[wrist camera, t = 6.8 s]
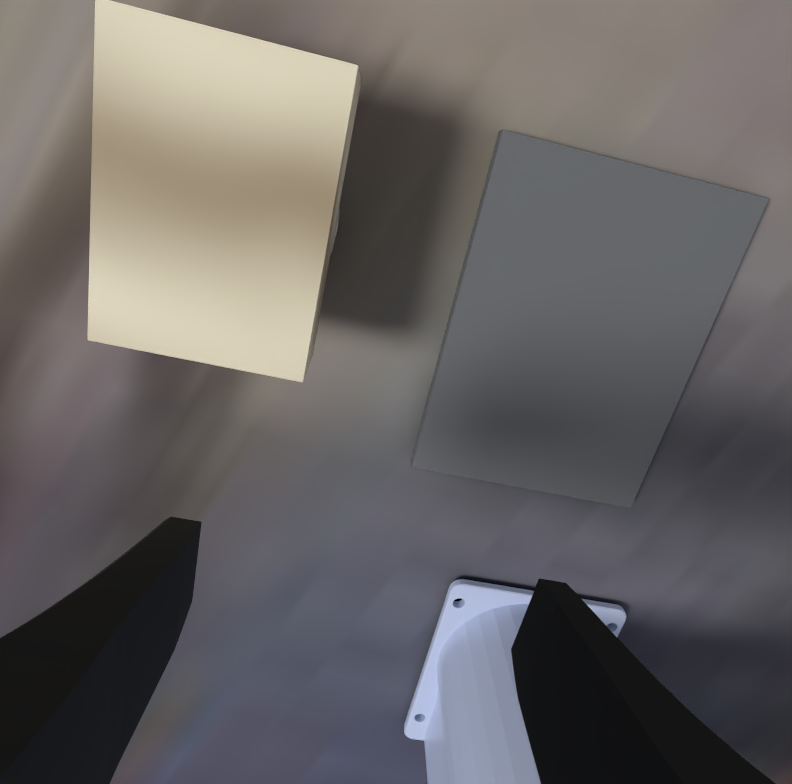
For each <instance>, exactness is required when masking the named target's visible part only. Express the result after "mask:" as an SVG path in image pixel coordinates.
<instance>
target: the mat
mask: <svg viewBox="0 0 792 784" xmlns="http://www.w3.org/2000/svg"><path fill="white" fill-rule="evenodd" d="M768 200H769V199H768V198H764V197H761V196H757V195H753V194H749V193H745V192H741V191H737V190H734V189H730V188H726V187H722V186H718V185H714V184H710V183H707V182H703V181H699V180H695V179H691V178H687V177H683V176H680V175H676V174H672V173H668V172H664V171H660V170H656V169H653V168H649V167H645V166H641V165H637V164H633V163H629V162H626V161H622V160H618V159H614V158H610V157H606V156H602V155H599V154H595V153H591V152H587V151H583V150H579V149H575V148H572V147H568V146H564V145H560V144H556V143H552V142H548V141H545V140H541V139H537V138H533V137H529V136H525V135H521V134H518V133H514V132H510V131H506V130H501V131H499V133H498V137H497V141H496V145H495V148H494V152H493V156H492V160H491V163H490V167H489V171H488V174H487V178H486V182H485V186H484V189H483V193H482V197H481V201H480V204H479V208H478V212H477V215H476V219H475V223H474V227H473V230H472V234H471V238H470V242H469V245H468V249H467V253H466V257H465V260H464V264H463V268H462V271H461V275H460V279H459V283H458V286H457V290H456V294H455V298H454V301H453V305H452V309H451V312H450V316H449V320H448V324H447V327H446V331H445V335H444V339H443V342H442V346H441V350H440V353H439V357H438V361H437V365H436V368H435V372H434V376H433V380H432V383H431V387H430V391H429V395H428V398H427V402H426V406H425V409H424V413H423V417H422V421H421V424H420V428H419V432H418V436H417V439H416V443H415V447H414V450H413V454H412V458H411V465H412V468H416V469H421V470H426V471H432V472H437V473H443V474H448V475H453V476H459V477H464V478H469V479H475V480H480V481H486V482H491V483H496V484H502V485H507V486H512V487H518V488H523V489H529V490H534V491H539V492H545V493H550V494H555V495H561V496H566V497H572V498H577V499H582V500H588V501H593V502H598V503H604V504H609V505H615V506H620V507H625V508H631V506H632V504H633V502H634V500H635V497H636V495H637V493H638V491H639V488H640V486H641V484H642V482H643V480H644V477H645V475H646V473H647V471H648V468H649V466H650V464H651V462H652V459H653V457H654V455H655V453H656V450H657V448H658V446H659V444H660V441H661V439H662V437H663V435H664V433H665V430H666V428H667V426H668V424H669V421H670V419H671V417H672V415H673V412H674V410H675V408H676V406H677V403H678V401H679V399H680V397H681V394H682V392H683V390H684V388H685V386H686V383H687V381H688V379H689V377H690V374H691V372H692V370H693V368H694V365H695V363H696V361H697V359H698V356H699V354H700V352H701V350H702V347H703V345H704V343H705V341H706V339H707V336H708V334H709V332H710V330H711V327H712V325H713V323H714V321H715V318H716V316H717V314H718V312H719V309H720V307H721V305H722V303H723V300H724V298H725V296H726V294H727V292H728V289H729V287H730V285H731V283H732V280H733V278H734V276H735V274H736V271H737V269H738V267H739V265H740V262H741V260H742V258H743V256H744V253H745V251H746V249H747V247H748V245H749V242H750V240H751V238H752V236H753V233H754V231H755V229H756V227H757V224H758V222H759V220H760V218H761V215H762V213H763V211H764V209H765V206H766V204H767V202H768Z"/></svg>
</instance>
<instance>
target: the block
mask: <svg viewBox="0 0 792 784" xmlns="http://www.w3.org/2000/svg"><path fill="white" fill-rule="evenodd" d="M360 86H361V77H360V72H359V67H358V65H355V64H351V63H347V62H344V61H340V60H336V59H332V58H328V57H324V56H321V55H317V54H313V53H309V52H305V51H301V50H298V49H294V48H290V47H286V46H282V45H278V44H275V43H271V42H267V41H263V40H259V39H255V38H252V37H248V36H244V35H240V34H236V33H232V32H229V31H225V30H221V29H217V28H213V27H209V26H206V25H202V24H198V23H194V22H190V21H186V20H183V19H179V18H175V17H171V16H167V15H163V14H160V13H156V12H152V11H148V10H144V9H140V8H137V7H133V6H129V5H125V4H121V3H118V2H114V1H110V0H95V39H94V83H93V126H92V170H91V213H90V257H89V300H88V340H90V341H95V342H100V343H105V344H110V345H115V346H120V347H125V348H130V349H135V350H141V351H146V352H151V353H156V354H161V355H166V356H171V357H176V358H181V359H186V360H192V361H197V362H202V363H207V364H212V365H217V366H222V367H227V368H232V369H237V370H243V371H248V372H253V373H258V374H263V375H268V376H273V377H278V378H283V379H288V380H294V381H299V382H303V381H304V378H305V375H306V372H307V369H308V367H309V364H310V361H311V358H312V355H313V351H314V345H315V339H316V334H317V328H318V323H319V317H320V311H321V306H322V300H323V294H324V289H325V283H326V278H327V272H328V266H329V261H330V255H331V249H332V244H333V238H334V233H335V227H336V221H337V216H338V210H339V205H340V199H341V193H342V188H343V182H344V176H345V171H346V165H347V160H348V154H349V148H350V143H351V137H352V131H353V126H354V120H355V115H356V109H357V103H358V98H359V92H360Z"/></svg>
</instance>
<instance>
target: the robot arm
mask: <svg viewBox="0 0 792 784" xmlns="http://www.w3.org/2000/svg"><path fill="white" fill-rule="evenodd" d="M200 530H201V522H199V521H193V520H187V519H181V518H176V517H170V518H168V519H166V520H165V521H163V522H162V523H161V524H160V525H159V526H157V527H156V528H155V529H154V530H153V531H152V532H150V533H149V534H148V535H147V536H146V537H144V538H143V539H142V540H141V541H139V542H138V543H137V544H136V545H135V546H133V547H132V548H131V549H130V550H128V551H127V552H126V553H125V554H123V555H122V556H121V557H119V558H118V559H117V560H115V561H114V562H113V563H112V564H110V565H109V566H108V567H106V568H105V569H104V570H102V571H101V572H100V573H98V574H97V575H96V576H94V577H93V578H92V579H90V580H89V581H88V582H86V583H85V584H83V585H82V586H81V587H79V588H78V589H76V590H75V591H73V592H72V593H70V594H69V595H67V596H66V597H64V598H63V599H62V600H60V601H59V602H57V603H56V604H54V605H53V606H51V607H50V608H48V609H47V610H45V611H44V612H42V613H41V614H39V615H38V616H36V617H34V618H33V619H31V620H30V621H28V622H27V623H25V624H23V625H22V626H20V627H18V628H17V629H15V630H13V631H12V632H10V633H8V634H7V635H5V636H3V637H1V638H0V784H109V783H110V781H111V779H112V777H113V775H114V772H115V770H116V768H117V766H118V763H119V761H120V759H121V757H122V755H123V753H124V751H125V749H126V747H127V745H128V743H129V741H130V739H131V737H132V735H133V733H134V731H135V729H136V727H137V725H138V723H139V721H140V719H141V717H142V715H143V713H144V711H145V709H146V707H147V705H148V703H149V701H150V699H151V696H152V694H153V692H154V690H155V688H156V686H157V684H158V682H159V680H160V678H161V676H162V674H163V672H164V670H165V668H166V666H167V664H168V662H169V660H170V658H171V656H172V653H173V651H174V649H175V647H176V644H177V641H178V639H179V636H180V633H181V631H182V628H183V625H184V622H185V619H186V617H187V614H188V611H189V608H190V605H191V602H192V597H193V589H194V581H195V572H196V564H197V555H198V547H199V538H200ZM458 598H461V599H462V600H461V601H454V600H455V599H458ZM626 617H627V616H626V613H625V611H624V609H623V608H622V607H621V606H619V605H617V604H611V603H605V602H599V601H593V600H586V599H581V598H580V597H579V596H578V595H577V594H576V593H575V592H574V591H573V590H572V589H571V588H570V587H569V586H568V585H567V584H566V583H562V582H557V581H551V580H545V579H539V580H538V583H537V585H536V588H535V590H534V591H532V590H526V589H520V588H514V587H508V586H502V585H496V584H490V583H484V582H478V581H471V580H465V579H458V580H455V581H454V582H452V583H451V585H450V587H449V590H448V593H447V596H446V599H445V602H444V605H443V608H442V611H441V614H440V617H439V620H438V623H437V626H436V629H435V632H434V635H433V638H432V642H431V645H430V648H429V651H428V654H427V657H426V660H425V663H424V666H423V669H422V672H421V675H420V678H419V681H418V684H417V687H416V690H415V693H414V697H413V700H412V703H411V706H410V709H409V712H408V715H407V718H406V721H405V724H404V732H405V735H406V736H407V737H409V738H411V739H417V740H424V742H425V755H426V767H427V779H428V784H775V783H774V782H773V781H771V780H770V779H769V778H768V777H766V776H765V775H764V774H762V773H761V772H760V771H758V770H757V769H756V768H755V767H754V766H752V765H751V764H750V763H749V762H747V761H746V760H745V759H744V758H742V757H741V756H740V755H739V754H738V753H736V752H735V751H734V750H733V749H732V748H731V747H730V746H728V745H727V744H726V743H725V742H724V741H723V740H721V739H720V738H719V737H718V736H717V735H716V734H715V733H713V732H712V731H711V730H710V729H709V728H708V727H706V726H705V725H704V724H703V723H702V722H701V721H700V720H699V719H698V718H696V717H695V716H694V715H693V714H692V713H691V712H690V711H689V710H688V709H687V708H686V707H685V706H684V705H683V704H682V703H681V702H679V701H678V700H677V699H676V698H675V697H674V696H673V695H672V694H671V693H670V692H669V691H668V690H667V689H666V688H665V687H664V686H663V685H662V684H661V683H660V682H659V681H658V680H657V679H656V678H655V677H654V676H653V675H652V674H651V673H650V672H649V671H648V670H647V669H646V668H645V667H644V666H643V665H642V664H641V663H640V662H639V660H638V659H637V658H636V657H635V656H634V655H633V654H632V653H631V652H630V651H629V650H628V649H627V648H626V647H625V646H624V645H623V643H622V642H621V641H620V640H619V639H618V638H617V637H618V635H619V633H620V631H621V629H622V627H623V625H624V623H625V620H626ZM610 623H612V624H611V625H608V624H610Z"/></svg>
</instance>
